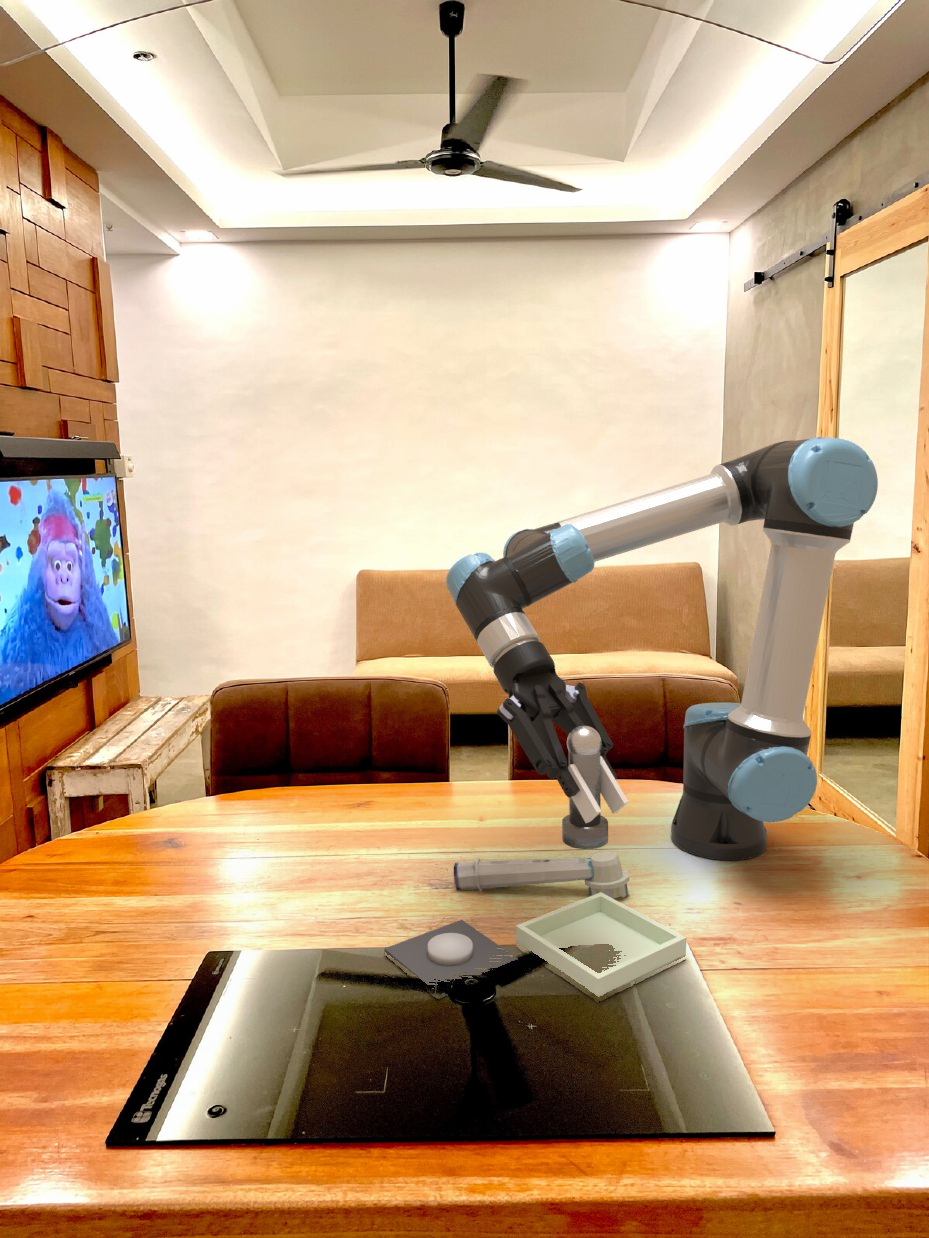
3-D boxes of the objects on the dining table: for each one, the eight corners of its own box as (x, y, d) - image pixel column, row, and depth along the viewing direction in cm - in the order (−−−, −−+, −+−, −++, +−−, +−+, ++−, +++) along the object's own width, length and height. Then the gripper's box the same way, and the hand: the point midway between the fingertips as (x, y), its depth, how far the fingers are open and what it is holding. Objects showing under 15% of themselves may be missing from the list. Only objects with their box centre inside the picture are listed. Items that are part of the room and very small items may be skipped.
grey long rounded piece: (456, 855, 131) (624, 840, 127) (463, 896, 132) (630, 883, 128) (451, 870, 126) (625, 855, 122) (458, 913, 127) (631, 900, 123)
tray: (600, 912, 121) (600, 892, 120) (685, 959, 109) (686, 937, 108) (516, 947, 112) (515, 925, 112) (598, 1002, 100) (598, 978, 100)
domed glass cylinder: (586, 826, 112) (585, 717, 109) (617, 840, 107) (617, 726, 105) (553, 838, 108) (551, 725, 106) (584, 853, 104) (582, 736, 102)
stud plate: (461, 926, 118) (461, 911, 117) (517, 965, 108) (517, 949, 108) (384, 955, 111) (384, 939, 110) (437, 1000, 101) (436, 982, 101)
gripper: (552, 662, 122) (640, 809, 111) (453, 682, 112) (539, 845, 102) (578, 630, 117) (672, 781, 106) (476, 647, 107) (569, 815, 97)
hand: (607, 812), depth 104 cm, fingers closed on domed glass cylinder, 4 cm apart
